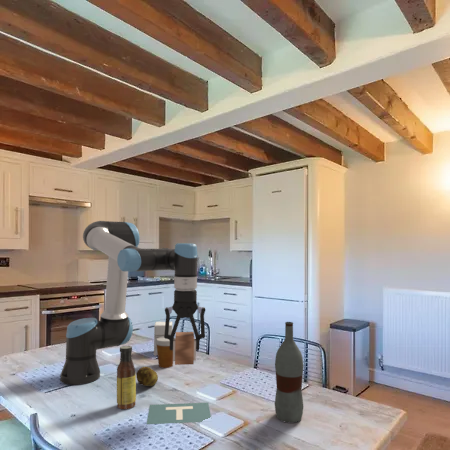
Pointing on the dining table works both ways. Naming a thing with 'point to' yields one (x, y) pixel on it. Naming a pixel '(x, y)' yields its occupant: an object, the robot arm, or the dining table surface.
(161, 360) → the disposable coffee cup
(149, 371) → the potato
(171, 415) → the letter card
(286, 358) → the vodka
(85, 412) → the dining table surface
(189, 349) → the wooden block
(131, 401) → the sauce bottle
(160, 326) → the supplement box
